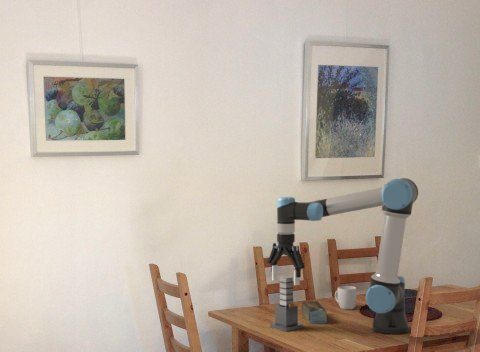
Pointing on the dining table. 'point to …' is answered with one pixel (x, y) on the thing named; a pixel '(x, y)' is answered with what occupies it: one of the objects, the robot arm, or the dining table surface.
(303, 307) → the beverage carton
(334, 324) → the dining table surface
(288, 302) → the column
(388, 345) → the dining table surface
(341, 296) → the mug
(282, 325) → the stand
